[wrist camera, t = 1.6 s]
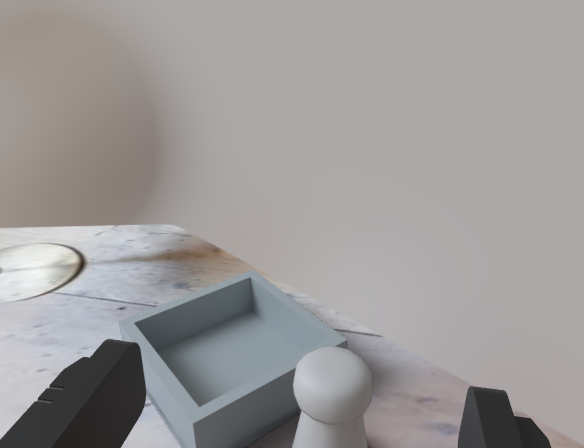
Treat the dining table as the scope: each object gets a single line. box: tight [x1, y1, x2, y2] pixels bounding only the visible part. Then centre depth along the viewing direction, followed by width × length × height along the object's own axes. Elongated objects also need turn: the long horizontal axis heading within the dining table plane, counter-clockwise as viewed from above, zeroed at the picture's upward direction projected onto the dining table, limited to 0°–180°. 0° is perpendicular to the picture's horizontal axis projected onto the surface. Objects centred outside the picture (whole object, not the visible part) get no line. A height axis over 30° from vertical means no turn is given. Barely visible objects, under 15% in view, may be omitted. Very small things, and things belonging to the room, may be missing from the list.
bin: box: [119, 270, 347, 448], centre depth 43 cm, size 14×14×5 cm
